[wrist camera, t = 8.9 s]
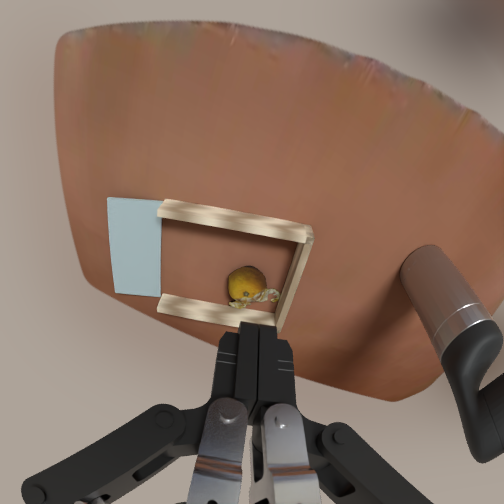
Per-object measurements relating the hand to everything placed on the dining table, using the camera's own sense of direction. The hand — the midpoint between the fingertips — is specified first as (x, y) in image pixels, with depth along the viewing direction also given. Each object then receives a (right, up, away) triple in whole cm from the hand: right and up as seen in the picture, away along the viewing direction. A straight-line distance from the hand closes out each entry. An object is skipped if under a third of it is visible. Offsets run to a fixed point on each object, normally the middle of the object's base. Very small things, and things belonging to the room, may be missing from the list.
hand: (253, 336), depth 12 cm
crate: (-4, +2, +31) cm, 31 cm away
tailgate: (-14, +3, +30) cm, 33 cm away
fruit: (-1, -2, +34) cm, 34 cm away
